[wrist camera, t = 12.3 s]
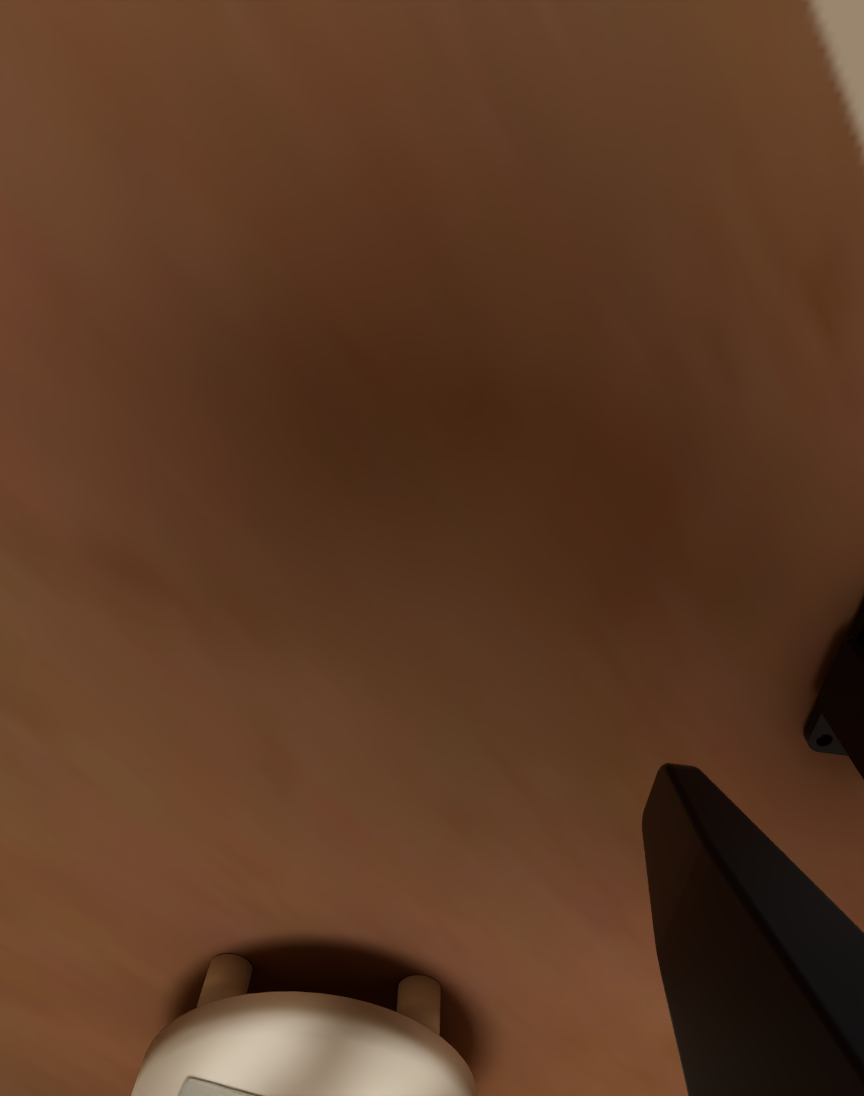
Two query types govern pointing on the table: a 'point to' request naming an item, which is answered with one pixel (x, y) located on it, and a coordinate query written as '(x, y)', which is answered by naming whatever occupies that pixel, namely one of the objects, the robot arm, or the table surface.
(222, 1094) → the supplement box
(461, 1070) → the stool
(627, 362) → the table surface
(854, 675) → the robot arm
